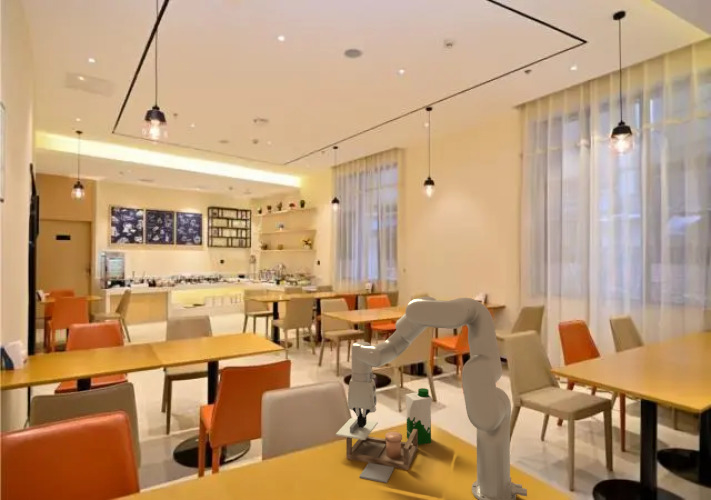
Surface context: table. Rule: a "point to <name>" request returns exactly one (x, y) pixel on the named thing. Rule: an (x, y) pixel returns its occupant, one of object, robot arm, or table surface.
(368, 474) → the trivet
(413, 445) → the wooden frame crate
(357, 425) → the lid
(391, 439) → the peach rounded knob
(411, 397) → the milk carton
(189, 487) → the table surface
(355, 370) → the robot arm
